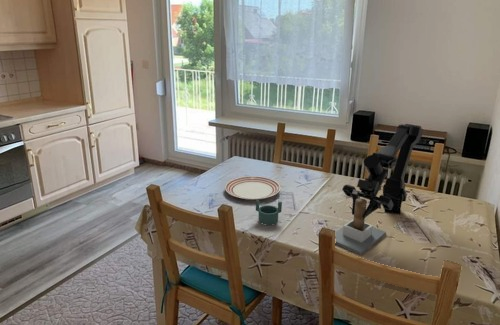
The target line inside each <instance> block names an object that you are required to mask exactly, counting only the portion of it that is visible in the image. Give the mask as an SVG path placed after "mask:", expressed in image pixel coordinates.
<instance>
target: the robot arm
mask: <svg viewBox="0 0 500 325" xmlns="http://www.w3.org/2000/svg"><path fill="white" fill-rule="evenodd" d="M423 135H424V129H423V128H422V126H421V125H417V124H410V123H405V124H399V125H398V126H397V129H396V130H395V133H394V135H392V137H391V139H389V141H388V143H387V144H386V146H385V147H384V146H383V147H382V148H380V149H379V150H378V152H372V154H370V155H367V156H366V157H365V158H364V159H363V165H364V167H365V169H366V172H367V173H368V177H366V178H365V179H362V178H359V179H358V181H357V184H356V187H357V188H359V189H358V190H357V189H356V187H355V186H353V185H351V184H345V185H343V187H342V192H343V193H344V194H345V196H347V197H349V198H352V206H351V207H352V208H351V209H352V210H351V214H352V215H353V216H354V210H355V202H356V199H358V198H362V199H365V200H369V202H368V206H366V211H365V212H364V215H363V219H364V218H365V219H366V218H367V217H368V216H369V215H371V214H372V213H374V212H375V211H377V210H378V209H379V210H381V209H383V210H384V213H388V214H395V215H399V216H400V215H401V210H402V209H401V208H402V203H403V202H406V200H407V197H408V193H407V191H406V183H405V179H404V178H405V176H406V172H407V168H408V165H409V162H410V158H411V155H412V152H413V148H414V147H415V146H416V144H418V143H419V142H420V139H421V138H422V137H423ZM393 168H394V169H393ZM387 169H393V171H392V175H391V176H390V177H388V172H387ZM384 182H385V183H384ZM382 186H383V187H382ZM381 190H382V194H380V195H379V196H378V194H379V191H381ZM381 206H382V207H381Z"/></svg>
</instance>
